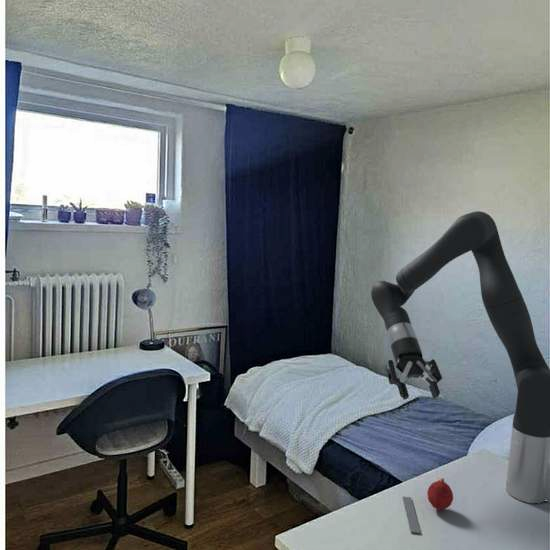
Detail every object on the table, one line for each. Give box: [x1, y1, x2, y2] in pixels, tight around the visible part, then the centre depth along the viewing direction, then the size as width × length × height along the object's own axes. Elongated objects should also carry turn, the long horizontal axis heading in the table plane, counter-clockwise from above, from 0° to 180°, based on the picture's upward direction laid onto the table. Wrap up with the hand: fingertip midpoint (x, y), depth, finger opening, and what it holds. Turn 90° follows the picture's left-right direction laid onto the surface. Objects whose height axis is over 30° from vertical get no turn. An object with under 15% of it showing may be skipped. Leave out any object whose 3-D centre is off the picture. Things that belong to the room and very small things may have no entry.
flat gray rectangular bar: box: [402, 496, 422, 535], centre depth 114 cm, size 2×14×1 cm, turn 173°
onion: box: [426, 476, 454, 511], centre depth 117 cm, size 6×6×8 cm
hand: (421, 397), depth 126 cm, fingers open, 8 cm apart
